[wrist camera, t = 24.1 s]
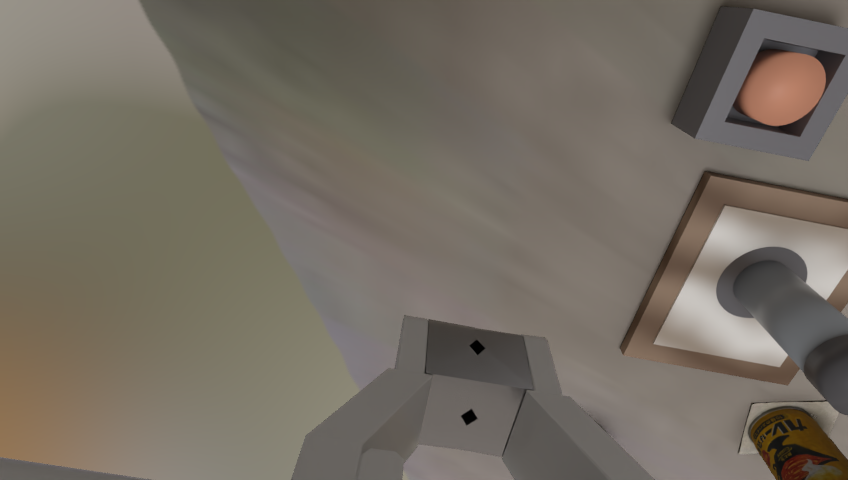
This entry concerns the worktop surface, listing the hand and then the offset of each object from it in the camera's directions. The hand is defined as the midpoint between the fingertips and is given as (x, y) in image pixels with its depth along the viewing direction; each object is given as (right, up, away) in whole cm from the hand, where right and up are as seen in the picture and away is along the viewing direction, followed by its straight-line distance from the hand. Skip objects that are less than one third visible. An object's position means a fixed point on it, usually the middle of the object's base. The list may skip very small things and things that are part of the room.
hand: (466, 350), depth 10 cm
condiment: (+36, -17, +39) cm, 56 cm away
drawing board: (+27, -2, +32) cm, 42 cm away
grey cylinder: (+27, -1, +30) cm, 41 cm away
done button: (+22, +13, +22) cm, 34 cm away
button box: (+22, +14, +24) cm, 35 cm away
